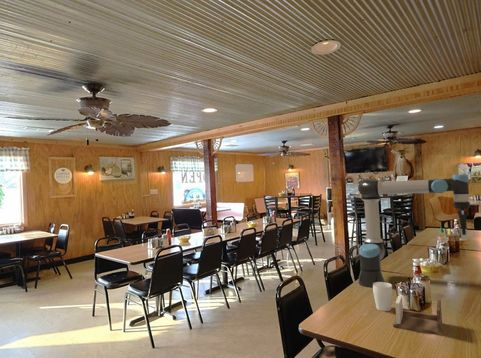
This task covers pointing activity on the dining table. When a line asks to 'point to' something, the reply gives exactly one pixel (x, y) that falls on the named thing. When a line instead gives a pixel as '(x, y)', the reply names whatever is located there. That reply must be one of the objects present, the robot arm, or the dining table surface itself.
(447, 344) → the dining table surface
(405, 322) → the rack
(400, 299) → the divider
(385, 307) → the cup
